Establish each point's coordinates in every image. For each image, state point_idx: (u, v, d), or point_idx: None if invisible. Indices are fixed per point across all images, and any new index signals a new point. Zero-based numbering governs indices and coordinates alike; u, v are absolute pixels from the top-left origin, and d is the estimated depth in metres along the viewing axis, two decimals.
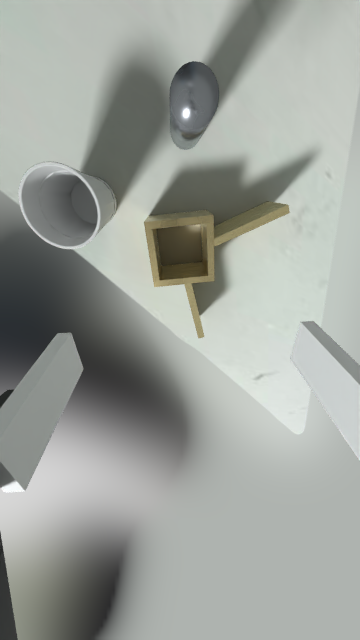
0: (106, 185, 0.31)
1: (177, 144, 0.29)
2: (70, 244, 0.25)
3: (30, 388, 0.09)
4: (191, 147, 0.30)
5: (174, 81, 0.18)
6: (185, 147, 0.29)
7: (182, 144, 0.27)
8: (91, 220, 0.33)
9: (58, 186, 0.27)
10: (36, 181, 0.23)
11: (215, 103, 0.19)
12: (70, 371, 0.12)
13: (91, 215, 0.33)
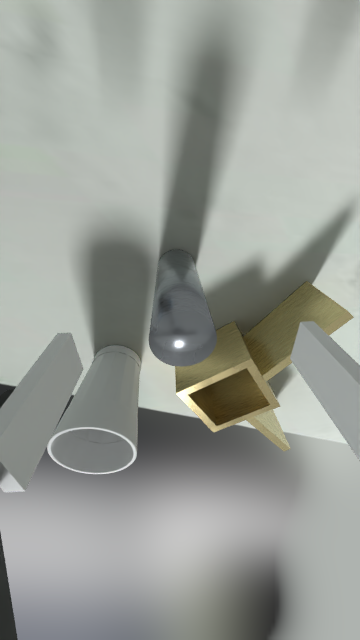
0: (122, 352, 0.29)
1: None
2: (116, 465, 0.23)
3: (30, 388, 0.09)
4: None
5: (151, 341, 0.13)
6: None
7: None
8: None
9: None
10: None
11: (212, 334, 0.13)
12: (70, 371, 0.12)
13: None
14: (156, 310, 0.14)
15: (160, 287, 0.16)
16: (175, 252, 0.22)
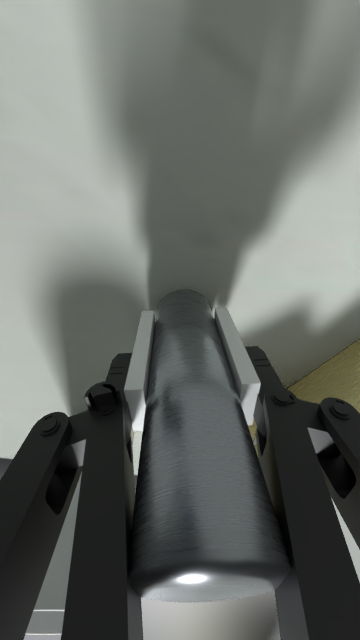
0: None
1: None
2: None
3: (145, 349, 0.11)
4: None
5: None
6: None
7: None
8: None
9: None
10: None
11: (285, 574, 0.05)
12: None
13: None
14: (146, 487, 0.06)
15: (157, 391, 0.09)
16: (182, 297, 0.15)
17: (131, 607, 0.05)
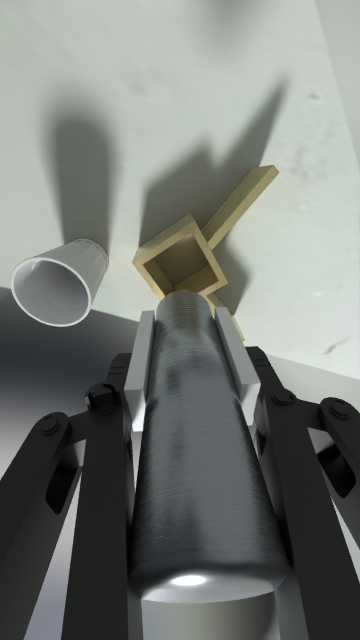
0: (88, 242, 0.31)
1: None
2: (75, 319, 0.26)
3: (145, 349, 0.11)
4: None
5: None
6: None
7: None
8: None
9: (48, 268, 0.29)
10: (24, 279, 0.25)
11: (285, 575, 0.05)
12: None
13: None
14: (145, 488, 0.06)
15: (157, 392, 0.09)
16: (182, 297, 0.15)
17: (131, 607, 0.05)
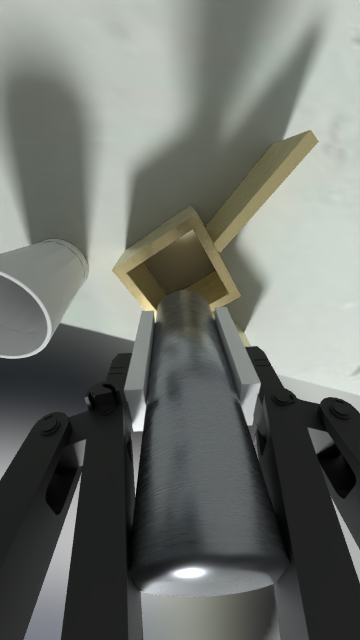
0: (60, 243, 0.24)
1: None
2: (33, 348, 0.19)
3: (145, 349, 0.11)
4: None
5: None
6: None
7: None
8: None
9: (3, 278, 0.22)
10: None
11: (283, 568, 0.05)
12: None
13: None
14: (146, 483, 0.06)
15: (158, 390, 0.09)
16: (182, 297, 0.15)
17: (131, 607, 0.05)
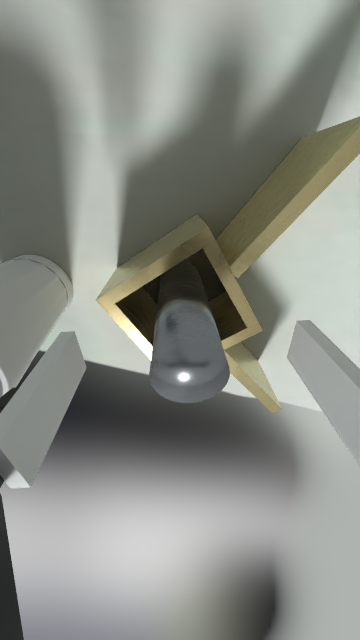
0: (35, 260, 0.20)
1: None
2: None
3: (35, 386, 0.09)
4: None
5: (152, 376, 0.11)
6: None
7: None
8: None
9: None
10: None
11: (225, 368, 0.11)
12: (73, 369, 0.12)
13: None
14: (158, 338, 0.12)
15: (163, 307, 0.14)
16: (179, 264, 0.20)
17: None
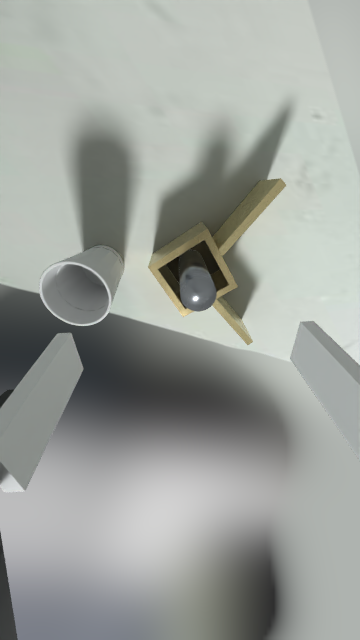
0: (106, 248, 0.34)
1: None
2: (95, 318, 0.28)
3: (30, 388, 0.09)
4: None
5: (181, 295, 0.25)
6: None
7: None
8: None
9: (70, 272, 0.31)
10: (50, 282, 0.27)
11: (214, 291, 0.25)
12: (70, 371, 0.12)
13: None
14: (184, 279, 0.26)
15: (184, 269, 0.28)
16: (190, 251, 0.34)
17: None
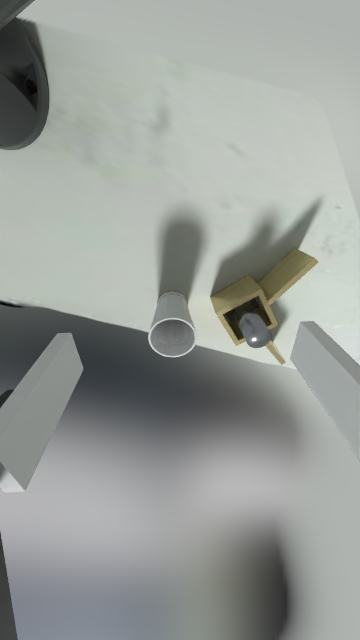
0: (178, 294, 0.45)
1: None
2: (181, 352, 0.39)
3: (30, 388, 0.09)
4: None
5: (247, 338, 0.36)
6: None
7: None
8: None
9: None
10: None
11: (269, 335, 0.36)
12: (70, 371, 0.12)
13: None
14: (247, 326, 0.37)
15: (243, 316, 0.40)
16: None
17: None
